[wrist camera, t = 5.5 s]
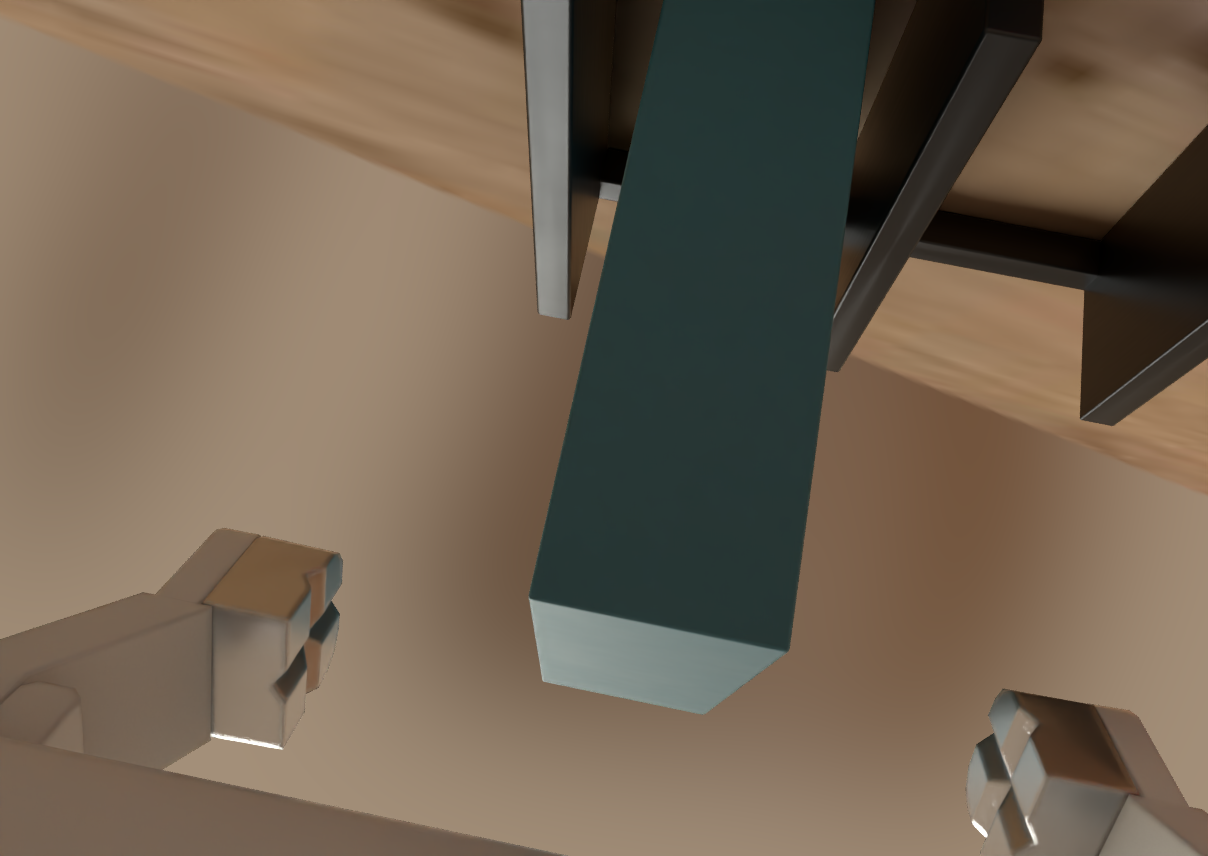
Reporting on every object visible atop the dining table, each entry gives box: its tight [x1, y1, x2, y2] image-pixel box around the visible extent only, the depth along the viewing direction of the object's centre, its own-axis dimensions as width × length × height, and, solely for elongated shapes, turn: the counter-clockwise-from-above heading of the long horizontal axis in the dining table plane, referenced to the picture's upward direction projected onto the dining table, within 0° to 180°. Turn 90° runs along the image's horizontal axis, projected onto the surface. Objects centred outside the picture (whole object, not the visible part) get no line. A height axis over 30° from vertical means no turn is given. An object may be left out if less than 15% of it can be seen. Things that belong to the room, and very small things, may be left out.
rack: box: [521, 0, 1208, 426], centre depth 25 cm, size 17×14×6 cm
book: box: [529, 0, 876, 714], centre depth 23 cm, size 4×10×16 cm, turn 178°
